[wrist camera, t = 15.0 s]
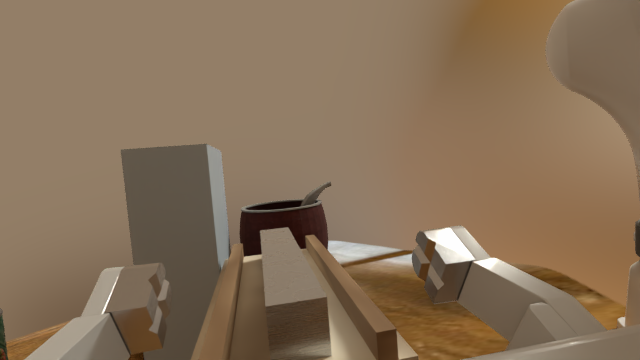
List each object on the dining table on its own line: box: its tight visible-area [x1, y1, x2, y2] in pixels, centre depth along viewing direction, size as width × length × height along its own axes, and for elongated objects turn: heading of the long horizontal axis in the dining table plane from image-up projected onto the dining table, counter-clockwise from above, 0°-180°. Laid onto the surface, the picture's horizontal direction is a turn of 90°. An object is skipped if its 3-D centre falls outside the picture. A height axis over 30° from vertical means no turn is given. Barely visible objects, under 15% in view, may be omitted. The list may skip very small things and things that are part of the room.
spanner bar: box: [260, 227, 332, 360], centre depth 26 cm, size 3×20×3 cm, turn 11°
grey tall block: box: [121, 144, 231, 360], centre depth 41 cm, size 8×14×26 cm, turn 11°
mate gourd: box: [240, 182, 331, 257], centre depth 54 cm, size 16×14×20 cm
